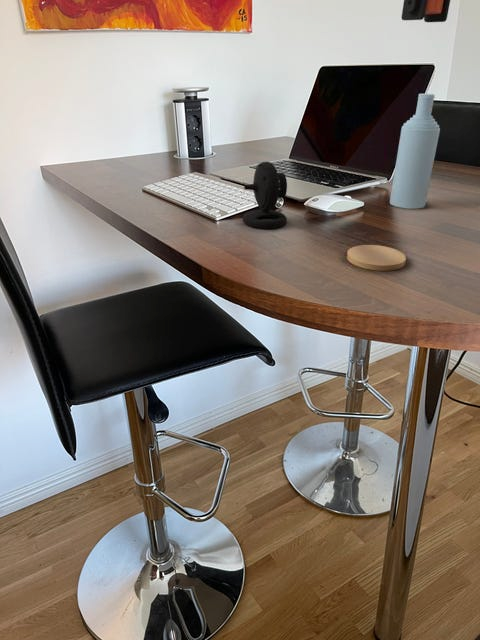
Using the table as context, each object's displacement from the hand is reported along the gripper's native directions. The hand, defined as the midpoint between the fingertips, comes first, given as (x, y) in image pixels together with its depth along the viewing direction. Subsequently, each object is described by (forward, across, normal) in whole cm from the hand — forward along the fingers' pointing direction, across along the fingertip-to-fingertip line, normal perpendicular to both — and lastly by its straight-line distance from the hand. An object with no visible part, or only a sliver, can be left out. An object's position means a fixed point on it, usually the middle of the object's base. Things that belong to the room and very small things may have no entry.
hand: (424, 19), depth 65 cm
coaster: (+30, -9, -6) cm, 31 cm away
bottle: (+29, +19, +12) cm, 37 cm away
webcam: (+30, -12, +16) cm, 36 cm away
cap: (-1, 0, 0) cm, 1 cm away
